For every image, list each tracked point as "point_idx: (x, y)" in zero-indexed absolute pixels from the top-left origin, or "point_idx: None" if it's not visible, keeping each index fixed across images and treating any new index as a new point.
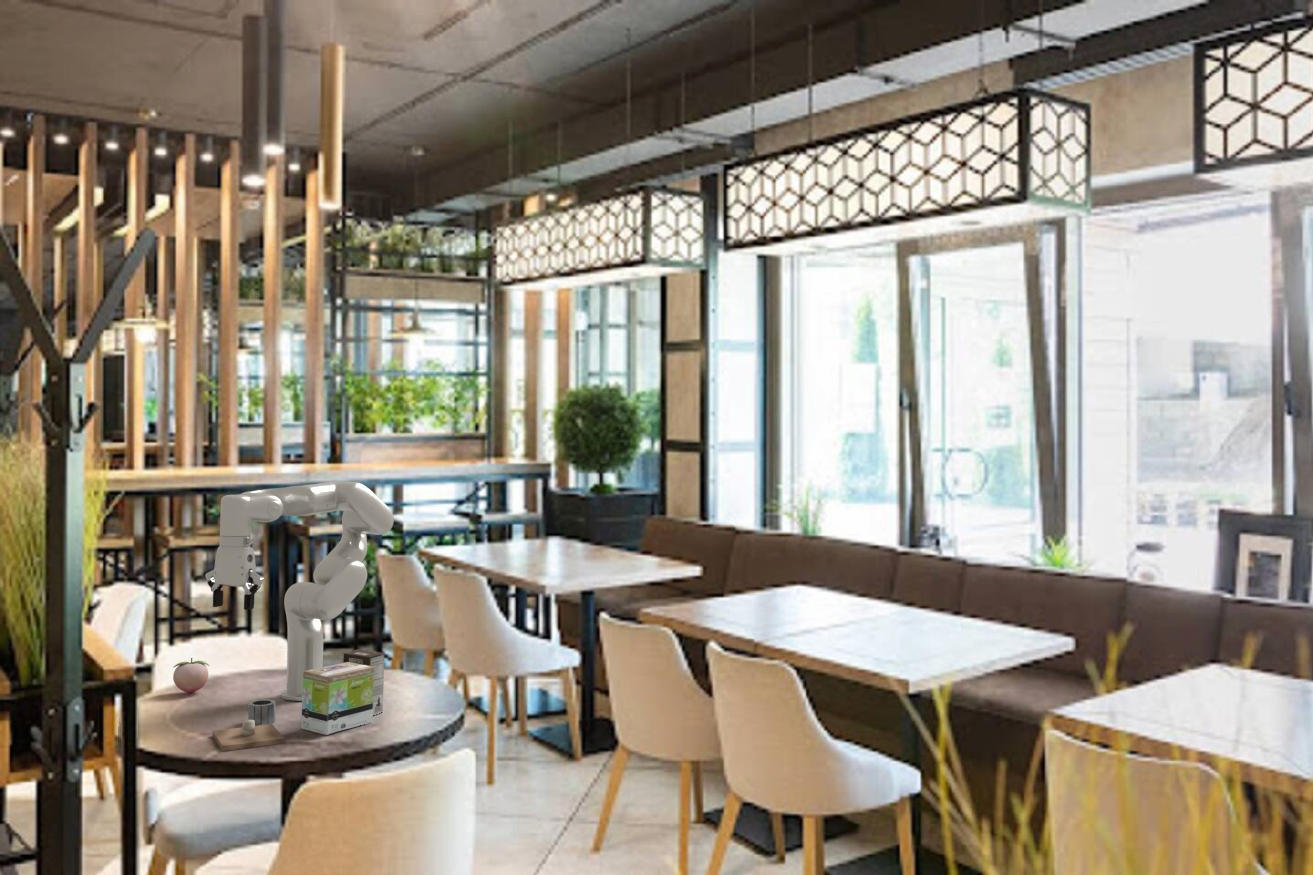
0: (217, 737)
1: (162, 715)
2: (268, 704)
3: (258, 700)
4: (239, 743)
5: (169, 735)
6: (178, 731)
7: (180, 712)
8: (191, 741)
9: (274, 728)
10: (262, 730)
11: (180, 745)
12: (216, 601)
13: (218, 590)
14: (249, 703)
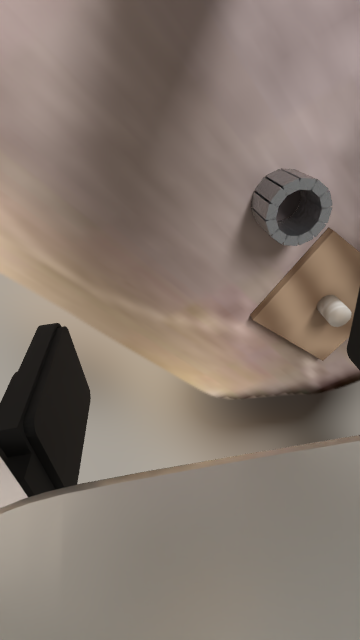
0: (286, 338)
1: (42, 270)
2: (324, 219)
3: (277, 201)
4: (340, 341)
5: (180, 345)
6: (174, 325)
7: (50, 233)
8: (239, 348)
9: (355, 253)
10: (339, 274)
11: (239, 367)
12: (82, 417)
13: (44, 490)
14: (274, 235)
